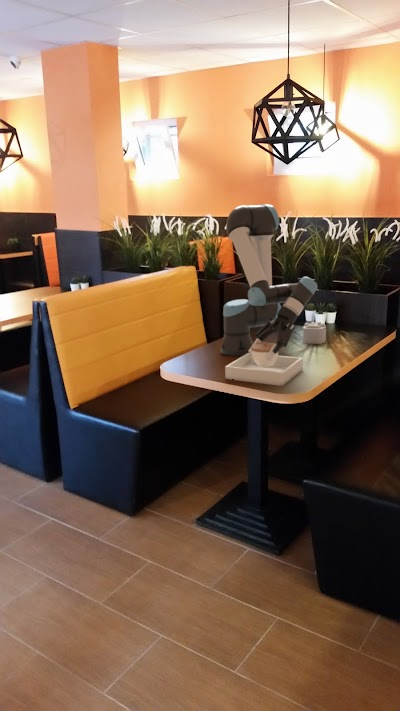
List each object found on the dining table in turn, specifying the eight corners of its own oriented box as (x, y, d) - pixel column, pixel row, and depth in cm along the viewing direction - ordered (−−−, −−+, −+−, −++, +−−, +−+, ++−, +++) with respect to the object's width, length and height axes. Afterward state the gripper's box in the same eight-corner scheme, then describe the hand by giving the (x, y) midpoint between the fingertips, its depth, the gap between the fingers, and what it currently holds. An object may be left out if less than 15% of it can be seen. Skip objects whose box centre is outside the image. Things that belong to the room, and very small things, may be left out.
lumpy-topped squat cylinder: (301, 343, 281) (301, 325, 279) (306, 336, 293) (306, 319, 291) (323, 344, 278) (323, 326, 275) (327, 337, 289) (328, 320, 287)
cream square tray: (225, 378, 233) (225, 366, 232) (248, 363, 251) (248, 352, 250) (282, 385, 222) (282, 373, 220) (302, 369, 240) (302, 357, 239)
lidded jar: (272, 370, 228) (271, 346, 225) (247, 367, 233) (246, 344, 231) (283, 362, 237) (282, 340, 234) (258, 360, 242) (258, 337, 240)
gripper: (314, 321, 228) (283, 367, 225) (277, 313, 248) (247, 355, 244) (304, 309, 224) (271, 356, 221) (266, 302, 244) (236, 345, 240)
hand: (259, 356), depth 233 cm, fingers closed on lidded jar, 11 cm apart
